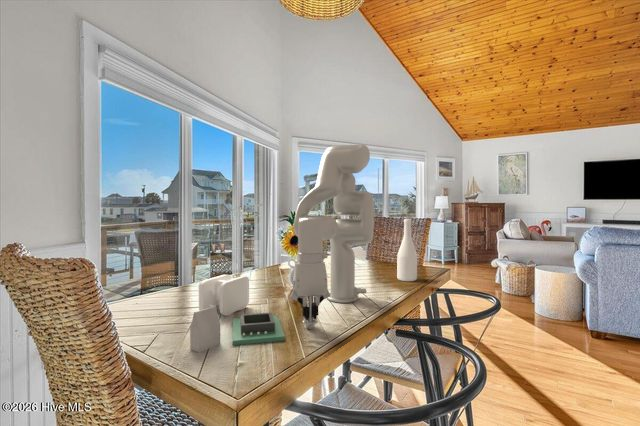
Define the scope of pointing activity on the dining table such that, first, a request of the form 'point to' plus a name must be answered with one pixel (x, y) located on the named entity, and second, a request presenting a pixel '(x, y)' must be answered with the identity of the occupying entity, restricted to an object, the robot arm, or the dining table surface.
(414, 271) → the wine bottle
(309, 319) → the screw
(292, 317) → the dining table surface
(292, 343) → the dining table surface
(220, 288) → the cable organizer
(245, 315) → the board
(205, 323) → the tea bag
